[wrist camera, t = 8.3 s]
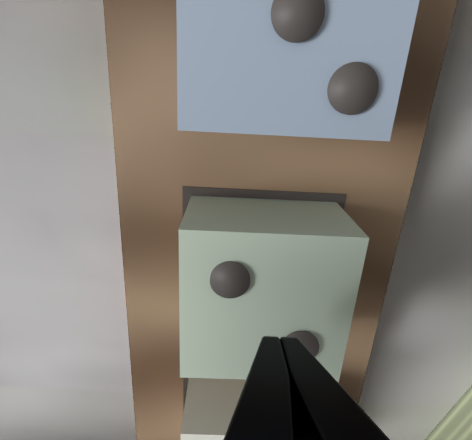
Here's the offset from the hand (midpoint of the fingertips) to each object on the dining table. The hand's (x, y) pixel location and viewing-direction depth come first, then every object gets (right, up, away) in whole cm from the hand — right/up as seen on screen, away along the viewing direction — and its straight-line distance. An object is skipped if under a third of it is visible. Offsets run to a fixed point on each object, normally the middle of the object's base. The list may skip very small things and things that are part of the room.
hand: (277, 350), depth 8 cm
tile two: (0, +2, +4) cm, 5 cm away
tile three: (0, +9, +2) cm, 9 cm away
